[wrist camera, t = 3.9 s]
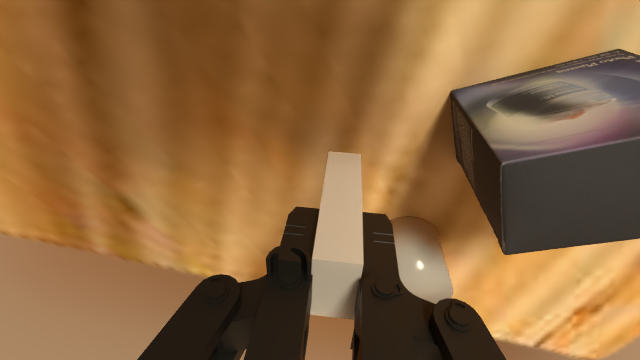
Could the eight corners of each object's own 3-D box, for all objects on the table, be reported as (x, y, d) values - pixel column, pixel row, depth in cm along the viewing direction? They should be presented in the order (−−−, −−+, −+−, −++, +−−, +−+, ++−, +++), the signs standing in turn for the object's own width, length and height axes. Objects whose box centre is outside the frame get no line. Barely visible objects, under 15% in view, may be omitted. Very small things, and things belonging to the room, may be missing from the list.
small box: (623, 39, 20) (825, 98, 11) (607, 131, 23) (753, 230, 15) (447, 86, 23) (501, 162, 14) (455, 162, 26) (503, 261, 17)
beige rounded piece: (372, 257, 33) (373, 309, 28) (379, 214, 30) (382, 264, 25) (430, 263, 33) (443, 317, 28) (445, 219, 29) (462, 272, 24)
